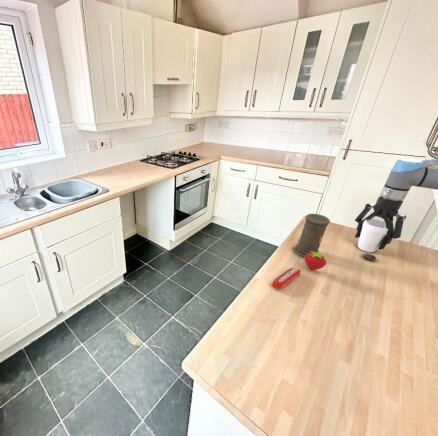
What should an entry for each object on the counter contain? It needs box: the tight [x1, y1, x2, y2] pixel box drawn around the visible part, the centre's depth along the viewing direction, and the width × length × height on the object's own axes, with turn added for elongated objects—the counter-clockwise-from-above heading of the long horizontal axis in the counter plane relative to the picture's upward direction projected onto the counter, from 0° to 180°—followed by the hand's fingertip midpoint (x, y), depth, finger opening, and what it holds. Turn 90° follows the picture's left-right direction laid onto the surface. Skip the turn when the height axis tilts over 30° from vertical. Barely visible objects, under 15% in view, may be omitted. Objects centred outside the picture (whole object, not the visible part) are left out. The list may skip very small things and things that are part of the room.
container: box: [294, 213, 331, 258], centre depth 105 cm, size 9×9×18 cm
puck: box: [362, 253, 377, 262], centre depth 105 cm, size 4×4×1 cm
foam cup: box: [357, 218, 388, 253], centre depth 108 cm, size 10×9×13 cm
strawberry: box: [303, 251, 327, 272], centre depth 97 cm, size 6×8×10 cm
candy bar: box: [270, 267, 302, 289], centre depth 94 cm, size 16×4×3 cm, turn 124°
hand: (368, 242), depth 110 cm, fingers closed on foam cup, 9 cm apart
